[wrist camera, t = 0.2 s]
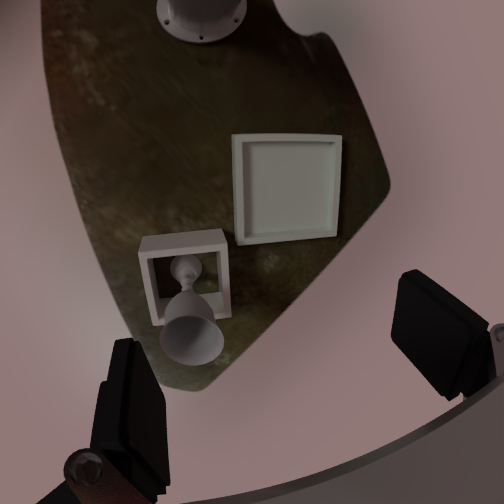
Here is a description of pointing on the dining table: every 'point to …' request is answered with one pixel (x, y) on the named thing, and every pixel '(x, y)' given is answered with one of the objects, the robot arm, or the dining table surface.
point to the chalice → (189, 319)
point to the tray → (285, 186)
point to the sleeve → (183, 246)
